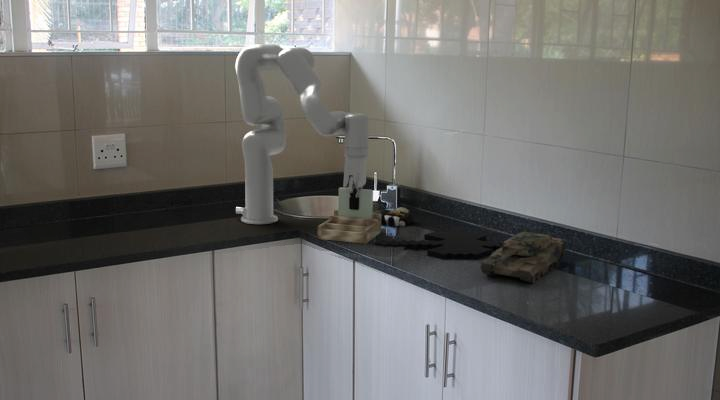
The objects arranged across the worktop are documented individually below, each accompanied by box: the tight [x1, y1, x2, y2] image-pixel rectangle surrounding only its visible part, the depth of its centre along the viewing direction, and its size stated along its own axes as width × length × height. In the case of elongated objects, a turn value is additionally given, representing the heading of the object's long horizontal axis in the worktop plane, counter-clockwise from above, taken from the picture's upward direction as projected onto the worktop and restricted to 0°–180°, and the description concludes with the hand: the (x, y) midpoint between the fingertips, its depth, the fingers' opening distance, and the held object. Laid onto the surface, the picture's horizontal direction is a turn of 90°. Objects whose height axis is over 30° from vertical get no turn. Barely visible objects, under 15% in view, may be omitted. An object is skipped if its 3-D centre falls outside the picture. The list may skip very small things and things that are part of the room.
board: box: [337, 186, 374, 219], centre depth 264 cm, size 11×2×14 cm, turn 72°
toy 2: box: [480, 231, 568, 284], centre depth 224 cm, size 13×37×10 cm, turn 147°
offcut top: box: [338, 216, 366, 226], centre depth 259 cm, size 8×4×2 cm, turn 76°
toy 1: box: [378, 206, 414, 228], centre depth 279 cm, size 12×8×15 cm
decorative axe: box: [374, 230, 503, 261], centre depth 251 cm, size 32×2×30 cm
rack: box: [317, 209, 382, 244], centre depth 259 cm, size 16×16×7 cm
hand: (355, 208), depth 264 cm, fingers closed on board, 2 cm apart
